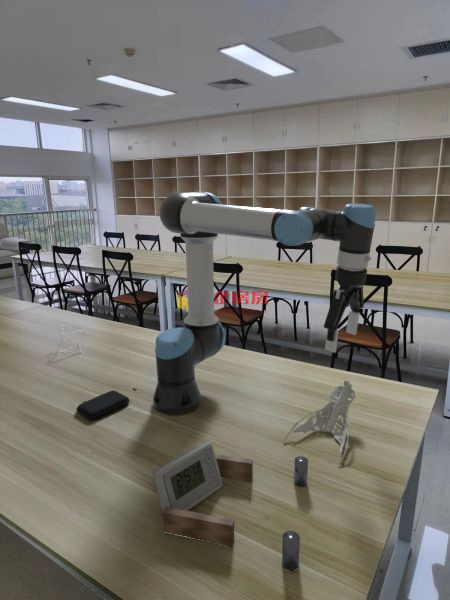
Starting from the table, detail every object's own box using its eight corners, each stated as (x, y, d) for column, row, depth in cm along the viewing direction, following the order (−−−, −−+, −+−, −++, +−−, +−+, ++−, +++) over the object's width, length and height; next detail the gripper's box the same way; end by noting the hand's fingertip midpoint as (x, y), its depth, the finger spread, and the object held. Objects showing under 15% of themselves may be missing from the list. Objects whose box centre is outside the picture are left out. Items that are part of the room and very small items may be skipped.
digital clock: (164, 528, 83) (161, 483, 80) (147, 501, 90) (143, 459, 88) (231, 496, 92) (230, 454, 89) (210, 473, 99) (209, 434, 96)
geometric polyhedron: (67, 344, 183) (64, 325, 180) (91, 345, 182) (88, 325, 179) (53, 355, 171) (50, 335, 169) (78, 356, 170) (75, 335, 167)
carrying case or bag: (112, 394, 138) (72, 412, 127) (111, 386, 137) (71, 403, 127) (132, 404, 132) (91, 424, 121) (131, 396, 131) (90, 415, 120)
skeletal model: (281, 445, 109) (313, 362, 119) (292, 455, 116) (322, 376, 126) (339, 467, 100) (369, 375, 110) (347, 477, 106) (375, 390, 116)
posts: (281, 569, 74) (281, 542, 72) (294, 477, 97) (295, 455, 95) (298, 573, 73) (299, 545, 71) (307, 479, 96) (308, 457, 95)
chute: (163, 533, 82) (162, 512, 81) (196, 468, 100) (195, 450, 99) (232, 547, 78) (232, 525, 77) (252, 478, 97) (252, 459, 96)
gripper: (346, 282, 93) (334, 363, 101) (383, 259, 112) (371, 330, 119) (315, 274, 98) (306, 353, 105) (356, 254, 116) (346, 323, 124)
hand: (341, 341), depth 112 cm, fingers open, 13 cm apart
